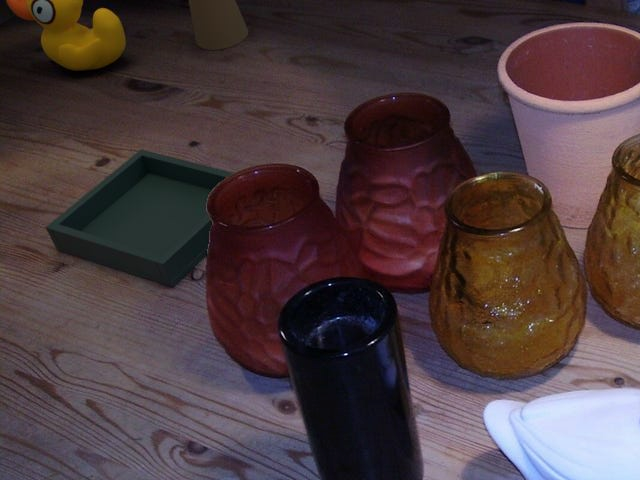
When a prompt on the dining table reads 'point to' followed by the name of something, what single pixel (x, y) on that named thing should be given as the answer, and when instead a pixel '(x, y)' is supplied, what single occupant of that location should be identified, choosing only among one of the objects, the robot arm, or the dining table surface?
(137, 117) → the dining table surface
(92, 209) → the tray
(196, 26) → the brown piece
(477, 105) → the dining table surface
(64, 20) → the duckling
